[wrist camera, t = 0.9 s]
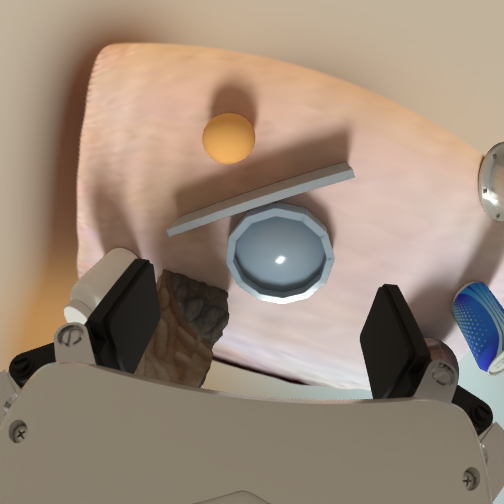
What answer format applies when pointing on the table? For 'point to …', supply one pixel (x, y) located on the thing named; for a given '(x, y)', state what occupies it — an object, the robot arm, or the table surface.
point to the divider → (262, 197)
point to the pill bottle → (96, 284)
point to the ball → (228, 138)
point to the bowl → (280, 253)
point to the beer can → (481, 325)
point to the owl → (184, 330)
